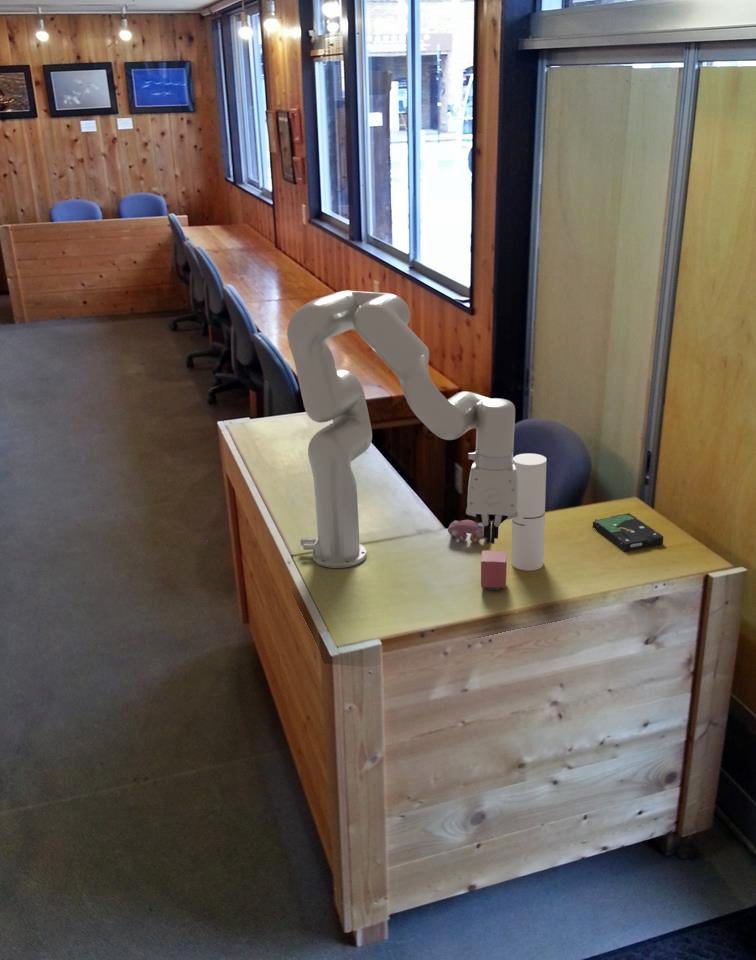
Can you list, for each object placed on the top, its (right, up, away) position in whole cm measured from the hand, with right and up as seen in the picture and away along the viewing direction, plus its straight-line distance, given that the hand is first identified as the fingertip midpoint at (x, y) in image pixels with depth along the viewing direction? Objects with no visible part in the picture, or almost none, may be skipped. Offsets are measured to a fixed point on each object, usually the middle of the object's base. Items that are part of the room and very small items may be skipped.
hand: (490, 540), depth 196 cm
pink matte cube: (+1, -9, +3) cm, 9 cm away
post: (+1, -10, +4) cm, 11 cm away
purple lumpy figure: (-2, -2, +26) cm, 26 cm away
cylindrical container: (+10, -6, +14) cm, 18 cm away
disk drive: (+35, -1, +25) cm, 43 cm away
